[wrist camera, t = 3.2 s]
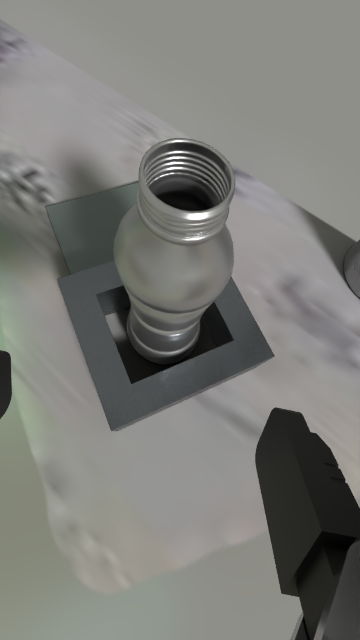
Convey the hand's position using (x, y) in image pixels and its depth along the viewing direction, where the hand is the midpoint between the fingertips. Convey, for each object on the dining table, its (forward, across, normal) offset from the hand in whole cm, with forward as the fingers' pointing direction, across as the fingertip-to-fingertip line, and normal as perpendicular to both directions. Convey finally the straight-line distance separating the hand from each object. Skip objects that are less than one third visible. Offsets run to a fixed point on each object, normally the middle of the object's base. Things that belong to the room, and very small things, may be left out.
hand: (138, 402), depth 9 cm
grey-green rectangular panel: (+27, +7, 0) cm, 28 cm away
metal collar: (+19, 0, +8) cm, 21 cm away
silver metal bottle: (+19, 0, +8) cm, 21 cm away
